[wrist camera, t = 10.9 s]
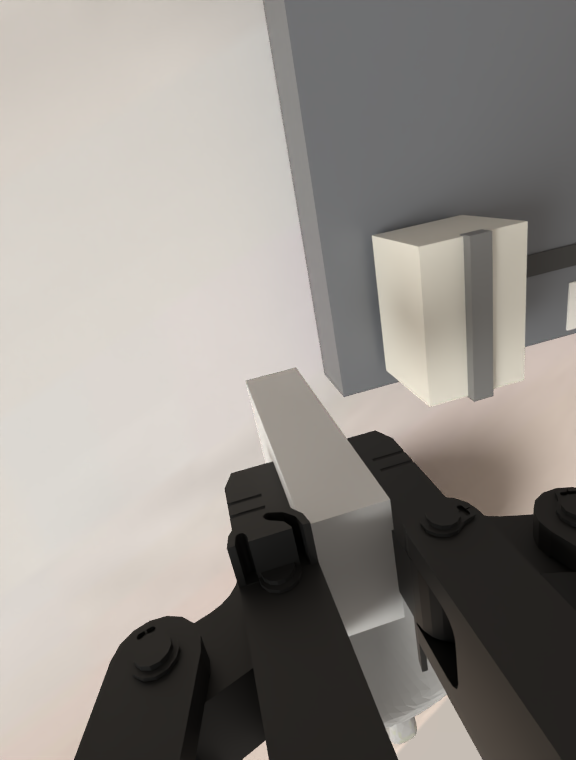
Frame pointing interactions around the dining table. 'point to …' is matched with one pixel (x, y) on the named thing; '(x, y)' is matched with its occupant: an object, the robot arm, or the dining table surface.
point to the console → (425, 147)
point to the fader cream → (453, 305)
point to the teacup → (397, 675)
